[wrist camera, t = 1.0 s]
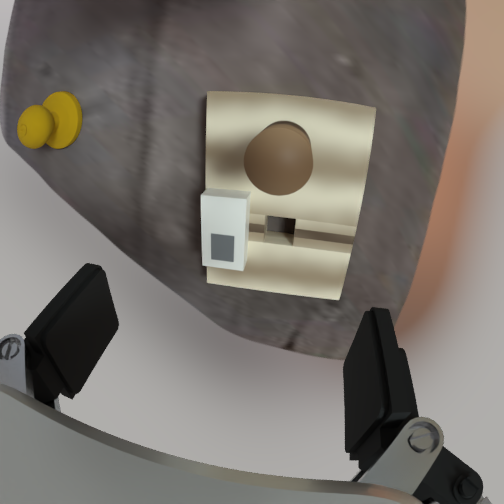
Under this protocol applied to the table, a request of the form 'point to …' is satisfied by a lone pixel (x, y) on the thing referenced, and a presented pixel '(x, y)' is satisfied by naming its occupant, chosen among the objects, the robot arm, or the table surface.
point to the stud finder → (225, 228)
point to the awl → (279, 159)
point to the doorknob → (51, 122)
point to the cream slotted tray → (300, 202)
